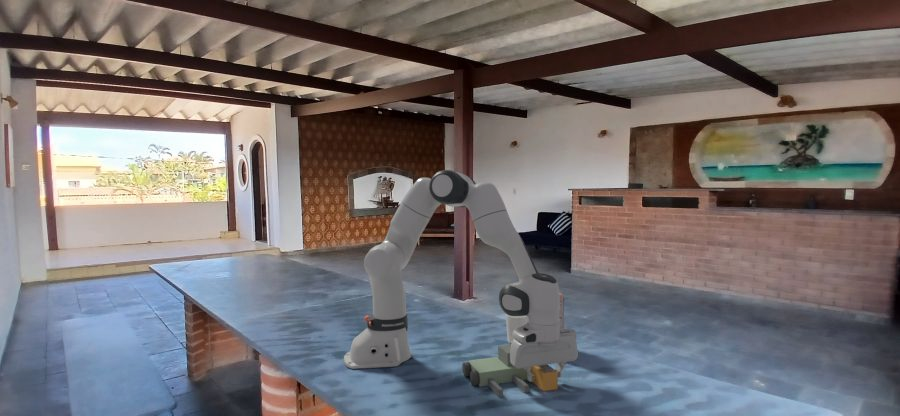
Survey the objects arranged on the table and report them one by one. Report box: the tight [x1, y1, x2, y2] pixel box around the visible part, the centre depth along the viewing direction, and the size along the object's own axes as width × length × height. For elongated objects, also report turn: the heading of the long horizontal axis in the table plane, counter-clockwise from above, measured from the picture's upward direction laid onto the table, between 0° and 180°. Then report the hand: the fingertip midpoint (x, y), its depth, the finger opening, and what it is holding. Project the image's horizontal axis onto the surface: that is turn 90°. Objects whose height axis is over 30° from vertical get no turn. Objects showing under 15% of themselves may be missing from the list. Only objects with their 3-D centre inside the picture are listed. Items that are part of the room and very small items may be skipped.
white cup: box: [505, 313, 528, 344], centre depth 171 cm, size 8×8×10 cm
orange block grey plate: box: [532, 364, 559, 392], centre depth 133 cm, size 4×7×6 cm, turn 17°
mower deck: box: [461, 343, 532, 398], centre depth 136 cm, size 23×18×8 cm
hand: (544, 378), depth 133 cm, fingers open, 7 cm apart
